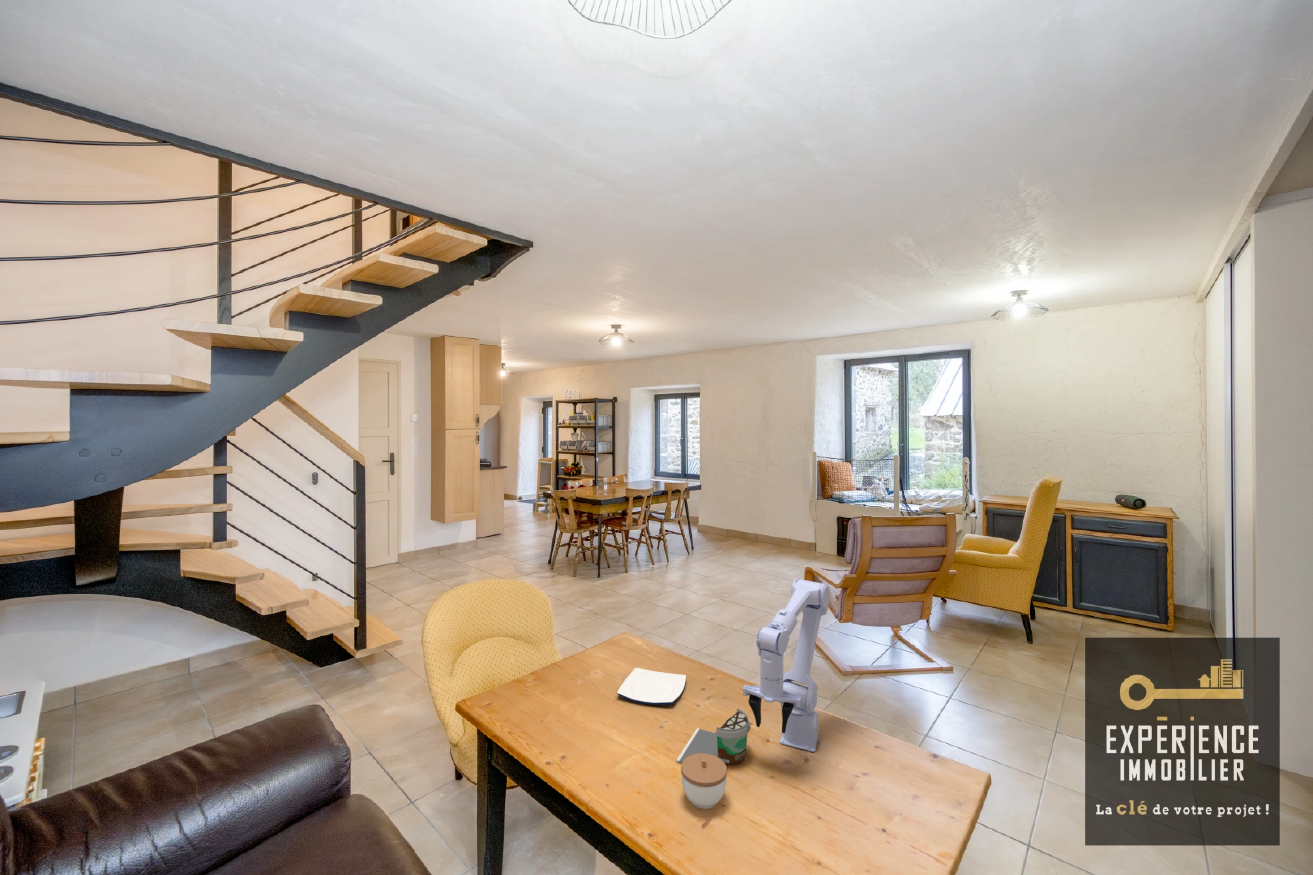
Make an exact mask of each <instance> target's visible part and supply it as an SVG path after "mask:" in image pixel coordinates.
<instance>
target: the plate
mask: <svg viewBox="0 0 1313 875" xmlns="http://www.w3.org/2000/svg"><path fill="white" fill-rule="evenodd" d="M686 680H687V675H686V674H679V673H670V672H661V671H654V670H649V669H645V668H640V667H635V668H634V669H633V670H632V671H631V673H630V674H629V675H628V676H627V677H626V678H625V679H624V681H623V682H622V683H621V685H620V687H619V688H618V690H617V692H616V695H618V696H619V697H621V698H623V699H626V700H629V701H631V702H635V703H640V704H645V705H646V704H648V705H653V706H654V705H655V706H660V705H661V706H667V705H668V706H669V705H673V703H674V702H676V701H677V700H678V699H679V698H680V697H681V695H682V693H683V692H684V689H685V687H686V686H685V685H686Z"/></svg>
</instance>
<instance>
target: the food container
mask: <svg viewBox="0 0 1313 875" xmlns="http://www.w3.org/2000/svg"><path fill="white" fill-rule="evenodd" d="M750 731H751V723H750V719H749V716H748V714H747V713H746V712H745V711H743V710H742V709H740V708H736V712H735V713H734V714H733V715H732V716H731V717H729V718H728V719H727V720H726V721H725V722H724V724H722V725H721V726H720V727H718V726H716V730H715V733H716V736H717V748H718V758H720V759H721V760H722V761H723V762H724V763H725V765H726V767H727V766H728V767H735V766H738V765H739V766H740V764H743V763H744V762H745V760H746V757H747V756H746V755H747V743H748V734H749V732H750Z"/></svg>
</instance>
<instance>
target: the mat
mask: <svg viewBox="0 0 1313 875" xmlns="http://www.w3.org/2000/svg"><path fill="white" fill-rule="evenodd" d="M698 753H706V754H711V755H714V756H716V757H718V748H717V736H716V732H712V731H708V730H705V729H701V728H698V727H696V729H695V731H693V734H692V735H691V737H690V738H689V739H688V741H687V742H686V745H684V747H683V749H682V751H681V752H680V754H679V755H678V757H677V758H676V759H675V760H676V763H679V764H682V762H683V761H684V759H685V758H687V757H688V756H690V755H693V754H698Z"/></svg>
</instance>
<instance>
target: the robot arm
mask: <svg viewBox="0 0 1313 875" xmlns="http://www.w3.org/2000/svg"><path fill="white" fill-rule="evenodd" d="M790 587H791V588H790V595H791V596H790V599H789V600H788V602H787V603H786V606H785V607H784V608H781V609H779V610H778V611H777V612H776V614H775V615H774V616H773V618H772V619H771V620H770V622H769V623H768V625H767V626H763V627H760V629H759V630H758V632H757V635H756V641H755V642H756V647H757V649H758V654H757V655H758V656H759V657H760V665H759V666H760V667H759V668H760V677H759V678H760V679H759V680H760V683H759V685H748V684H744V685H743V687H742V696H745V697H748V696H749V698H748V701H747V702H748V705H749V706H750V708H751V711H752V713H753V716H754V720H755V725H756V727H757V728H760V726H761V724H762V711H761V710H762V700H764V702H766V703H776V702H778V703H780V704H781V706H780V707H781V715H782V716H781V717H782V722H781V723H782V724H781V736H780V740H779V744H781V745H784V746H788V747H792V748H796V749H800V750H805V751H807V752H812V753H815V752H816V749H817V744H818V741H819V738H820V737H819V713H818V712H817V711H815V709H816V707H817V702H818V685H817V683H816V681H815V679H813V677H812V676H811V675H810V673H811V670H812V664H813V660H814V659H813V658H814V653H815V649H816V648H815V647H816V642H817V638H818V632H819V627H820V623H821V618H822V617H823V616H825V615H827V613H828V610H829V606H830V600H831V589H830V586H829V584H828V583H822V582H816V581H812V580H805V579H801V578H797V577H796V578H795V579H794V580H793V582H792V584H791V586H790ZM800 613H802V619H801V624H800V629H799V634H798V638H797V639H798V640H797V644H796V649H795V653H794V658H793V664H792V668H791V670H787V671H786V672H784V654H785V653H786V651H787V648H788V644H789V642H790V636H791V633H792V632H793V631H794V629H796V626H797V625H798V620H797V618H798V616H799V615H800ZM795 682H796V683H795ZM799 683H800V684H799ZM802 684H803V685H802ZM804 685H805V686H804Z"/></svg>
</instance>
